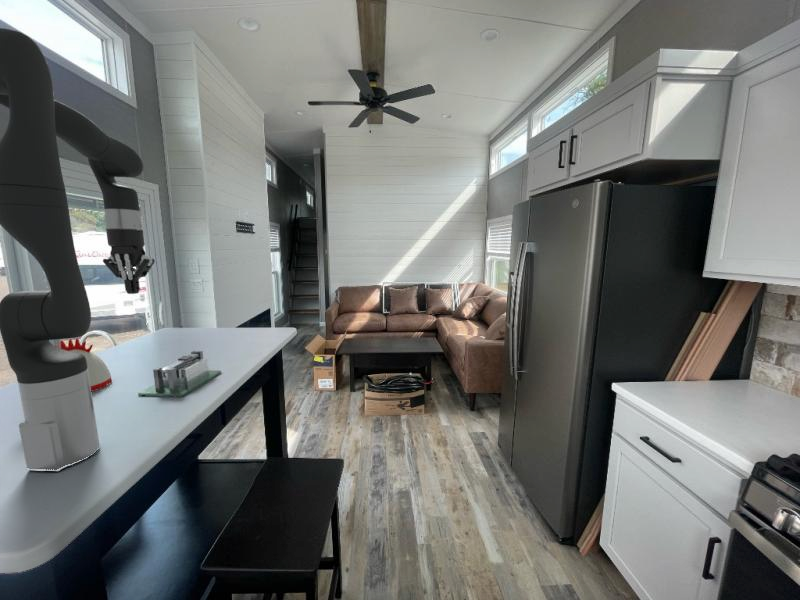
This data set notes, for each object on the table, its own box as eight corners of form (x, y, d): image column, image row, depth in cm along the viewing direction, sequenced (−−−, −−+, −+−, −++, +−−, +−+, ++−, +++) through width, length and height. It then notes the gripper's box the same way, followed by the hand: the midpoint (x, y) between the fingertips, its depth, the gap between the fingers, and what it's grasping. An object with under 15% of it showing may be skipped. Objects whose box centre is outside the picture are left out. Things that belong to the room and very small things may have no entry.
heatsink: (182, 396, 91) (179, 370, 90) (138, 395, 92) (134, 369, 91) (221, 372, 109) (219, 350, 108) (183, 372, 110) (181, 349, 109)
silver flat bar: (168, 373, 93) (167, 369, 92) (158, 373, 93) (158, 368, 93) (199, 356, 106) (198, 352, 105) (190, 356, 106) (190, 352, 106)
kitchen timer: (60, 383, 101) (52, 336, 99) (117, 375, 107) (111, 331, 105) (37, 401, 89) (27, 348, 87) (103, 391, 95) (95, 341, 93)
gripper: (86, 227, 83) (96, 295, 85) (136, 227, 82) (145, 295, 84) (114, 229, 90) (122, 291, 93) (160, 228, 89) (167, 291, 92)
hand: (133, 293), depth 88 cm, fingers closed
